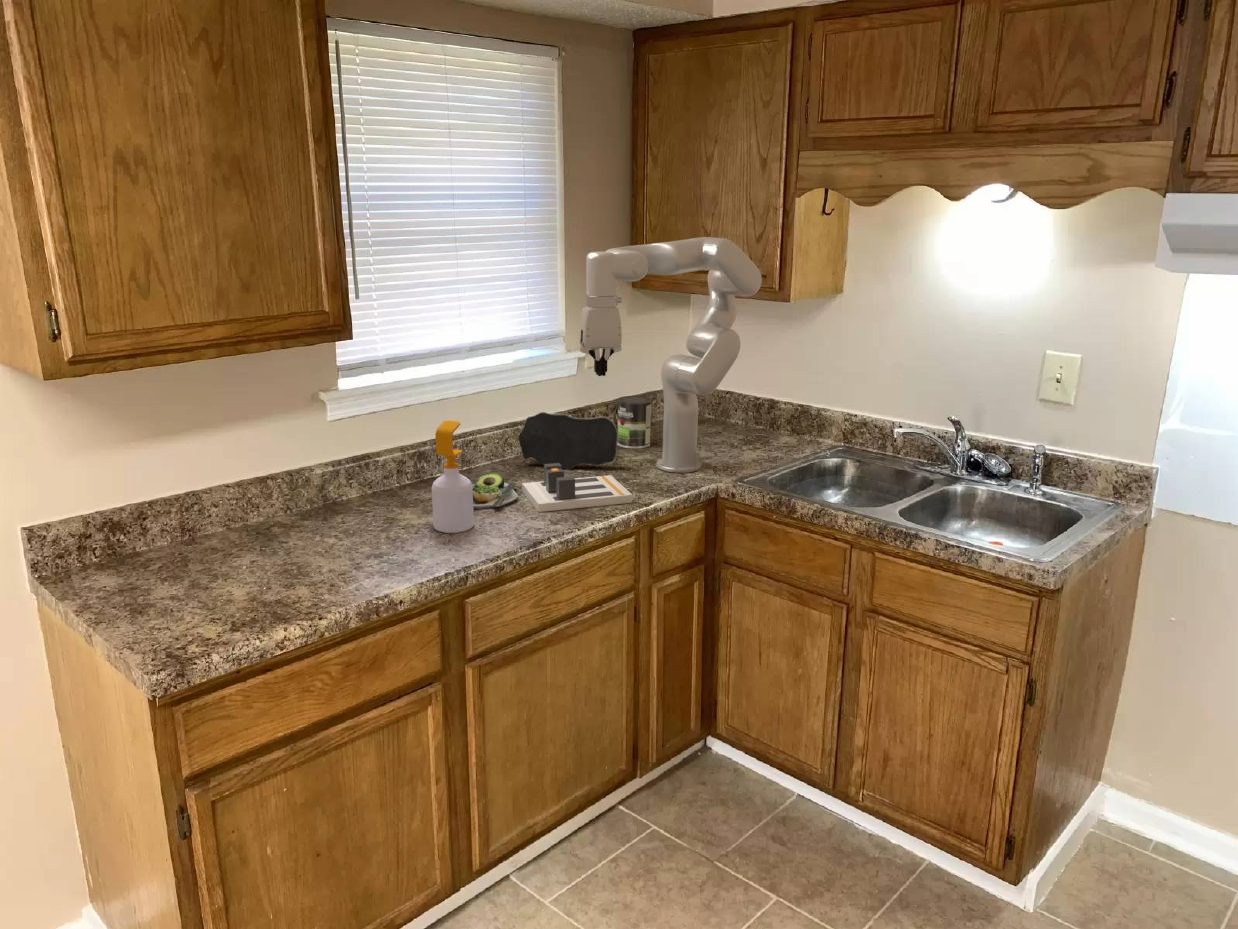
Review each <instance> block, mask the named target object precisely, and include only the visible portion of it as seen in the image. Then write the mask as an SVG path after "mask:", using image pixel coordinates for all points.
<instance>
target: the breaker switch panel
mask: <svg viewBox="0 0 1238 929" xmlns="http://www.w3.org/2000/svg"><path fill="white" fill-rule="evenodd" d="M553 468H557V469H562V470H563V468H562V465H561V464H560V463H552V464H543V481H531V482H530V481H529V482H522V483H521V490H522V492H523V494H524V495H525V496H526V498H527V499H528V500H529V501H530V503H531V504H532V505H533V506H534V508H535V510H536V511H537V512H538V513H541V512H543V513H544V512H550V511H551V512H552V511H553V512H554V511H561V510H573V509H580V508H583V509H584V508H591V507H600V506H602V507H603V506H611V505H620V504H630V503H633V501H634V499H633V496H634V495H633V494H632V493H631V492H630V491H629V490H628V489H627V488H626V487H624V486H623V485H622V484H621V483H620V482H619V481H618V480H617V479H616V478H615V477H613V476H612V475H611V474H610V475H600V476H599V475H597V476H589V477H588V476H587V477H576V478H575V477H573V476H572V475H571V476H564V477H559V478H556V491H554V492H548V491H547V490H546V470H551V469H553Z"/></svg>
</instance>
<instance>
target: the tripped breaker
mask: <svg viewBox="0 0 1238 929" xmlns="http://www.w3.org/2000/svg"><path fill="white" fill-rule="evenodd" d="M559 477H565V471H564V470H563V468H562V469H557V468H553V469H551V470H546V490H547V491H548V492H554V491H556V478H559Z"/></svg>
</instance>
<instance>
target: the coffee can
mask: <svg viewBox="0 0 1238 929" xmlns="http://www.w3.org/2000/svg"><path fill="white" fill-rule="evenodd" d="M652 402H653V399H651V398H649V397H647V396H642V395H627V396H626V395H625V396H621V397H618V398H617V433H618V434H617V447H621V448H624V449H632V450H633V449H636V450H637V449H639V450H640V449H645V448H648V447H650V446H651V428H652V427H651V425H652V424H651V423H652Z"/></svg>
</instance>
